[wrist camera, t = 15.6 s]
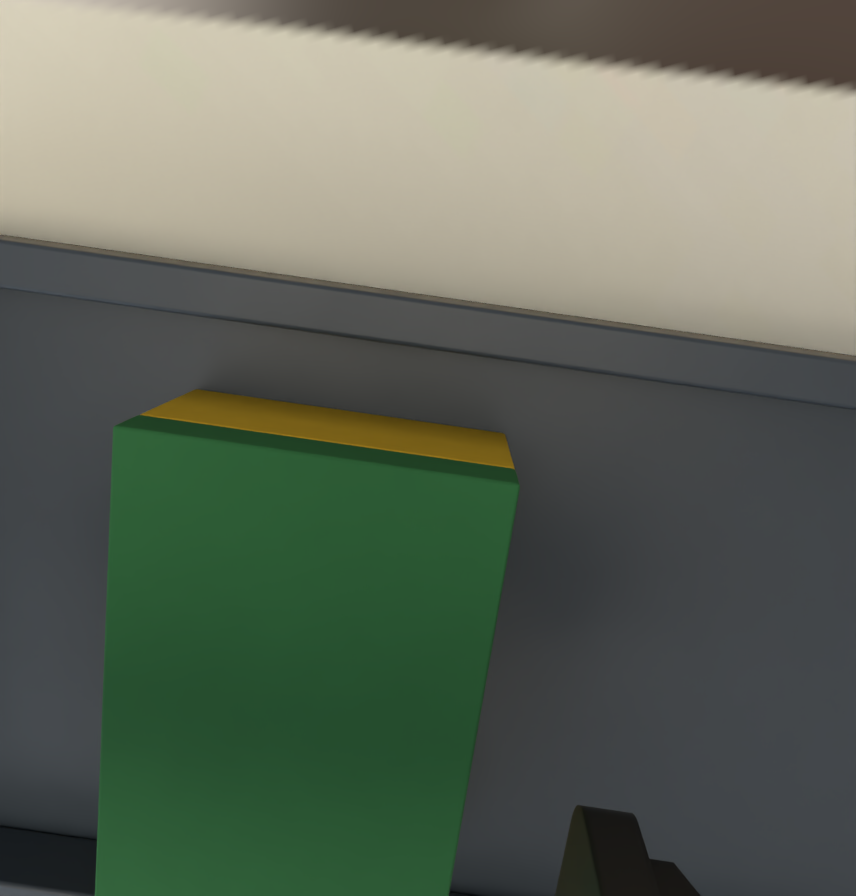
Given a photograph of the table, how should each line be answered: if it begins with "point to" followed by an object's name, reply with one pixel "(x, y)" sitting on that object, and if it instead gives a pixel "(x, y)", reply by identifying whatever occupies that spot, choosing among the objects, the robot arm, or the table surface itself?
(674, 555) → the tray
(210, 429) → the sponge
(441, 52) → the table surface
